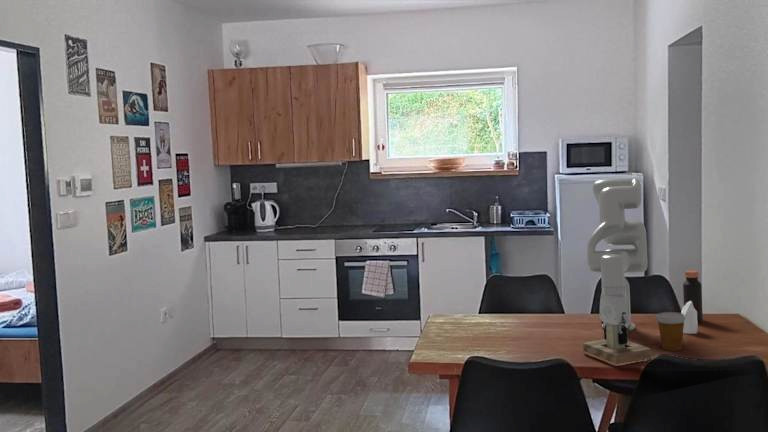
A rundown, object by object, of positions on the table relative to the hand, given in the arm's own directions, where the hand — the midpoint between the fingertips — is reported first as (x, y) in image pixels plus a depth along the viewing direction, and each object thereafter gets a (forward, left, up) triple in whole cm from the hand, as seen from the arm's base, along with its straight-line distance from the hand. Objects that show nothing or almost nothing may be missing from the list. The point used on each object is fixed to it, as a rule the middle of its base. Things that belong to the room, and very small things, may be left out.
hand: (615, 341), depth 248 cm
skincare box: (0, 0, -4) cm, 4 cm away
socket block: (0, 0, -6) cm, 6 cm away
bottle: (-23, +55, -6) cm, 60 cm away
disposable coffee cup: (+2, +22, -6) cm, 23 cm away
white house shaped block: (-11, +42, -6) cm, 44 cm away
